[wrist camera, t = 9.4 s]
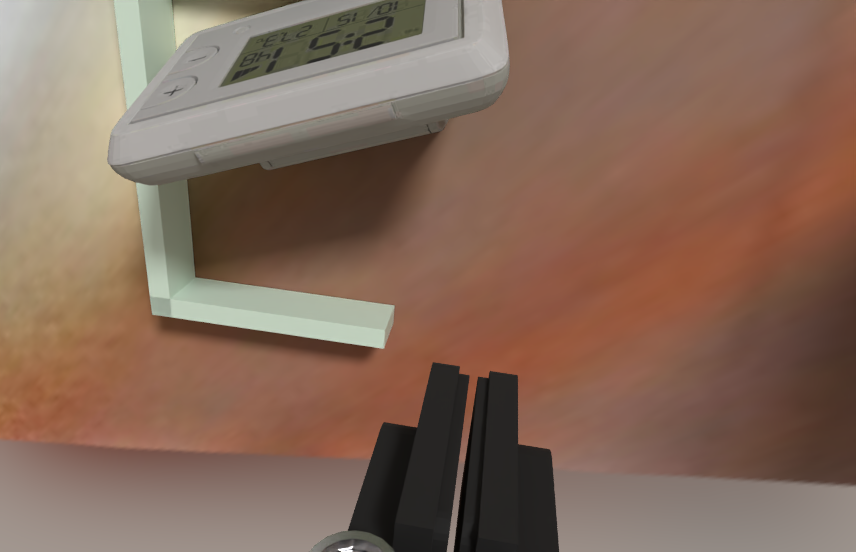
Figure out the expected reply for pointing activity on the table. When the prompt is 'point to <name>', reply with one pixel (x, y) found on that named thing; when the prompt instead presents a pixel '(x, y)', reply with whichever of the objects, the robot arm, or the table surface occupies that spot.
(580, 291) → the table surface
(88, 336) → the table surface
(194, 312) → the mint u-shaped bracket
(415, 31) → the digital clock
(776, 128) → the table surface
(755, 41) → the table surface
